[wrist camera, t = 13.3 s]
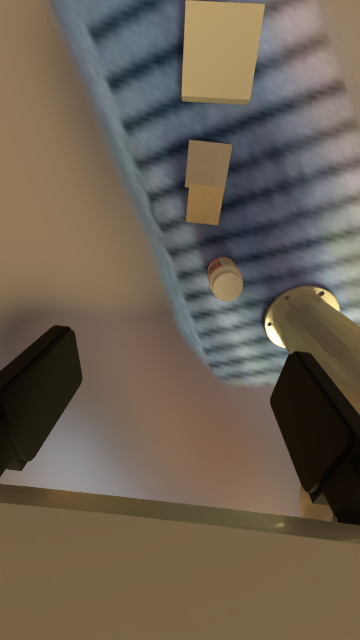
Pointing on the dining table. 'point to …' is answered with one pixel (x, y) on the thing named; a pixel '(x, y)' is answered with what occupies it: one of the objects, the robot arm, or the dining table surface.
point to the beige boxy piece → (206, 180)
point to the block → (220, 51)
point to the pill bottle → (224, 279)
